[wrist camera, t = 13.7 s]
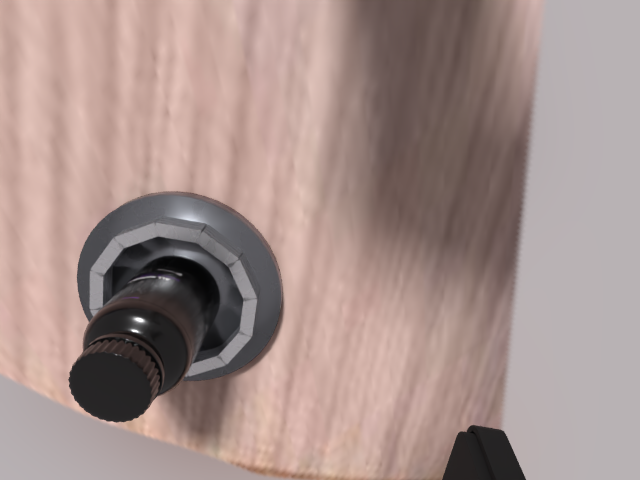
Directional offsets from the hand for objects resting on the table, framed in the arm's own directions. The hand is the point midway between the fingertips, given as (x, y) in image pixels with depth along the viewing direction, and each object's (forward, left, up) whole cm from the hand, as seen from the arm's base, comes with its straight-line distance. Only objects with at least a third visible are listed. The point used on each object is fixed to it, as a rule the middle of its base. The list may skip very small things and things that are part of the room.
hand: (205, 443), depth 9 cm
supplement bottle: (+12, -8, -27) cm, 31 cm away
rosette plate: (+12, -8, -28) cm, 32 cm away
